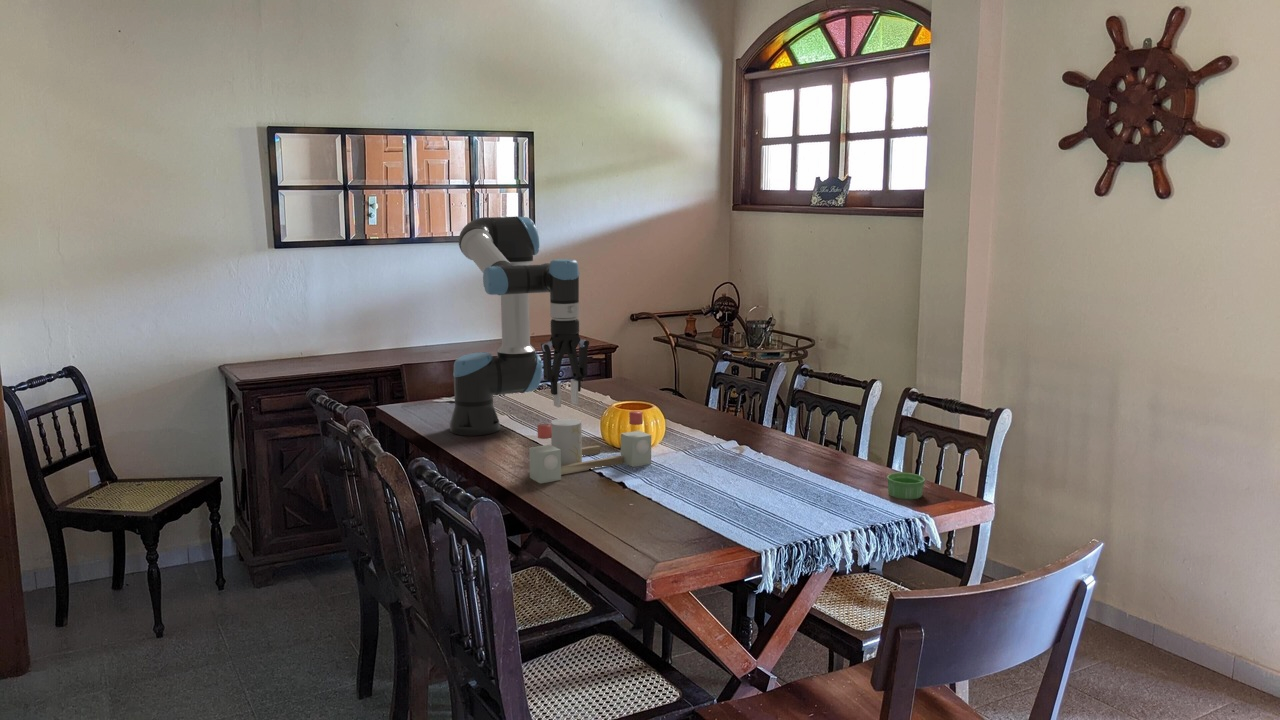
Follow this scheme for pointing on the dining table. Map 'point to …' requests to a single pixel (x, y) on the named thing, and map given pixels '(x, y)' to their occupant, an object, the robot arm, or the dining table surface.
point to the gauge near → (544, 431)
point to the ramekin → (905, 485)
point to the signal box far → (636, 448)
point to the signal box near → (545, 463)
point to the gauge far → (635, 417)
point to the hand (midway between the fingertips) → (566, 404)
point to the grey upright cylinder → (567, 439)
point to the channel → (593, 463)
